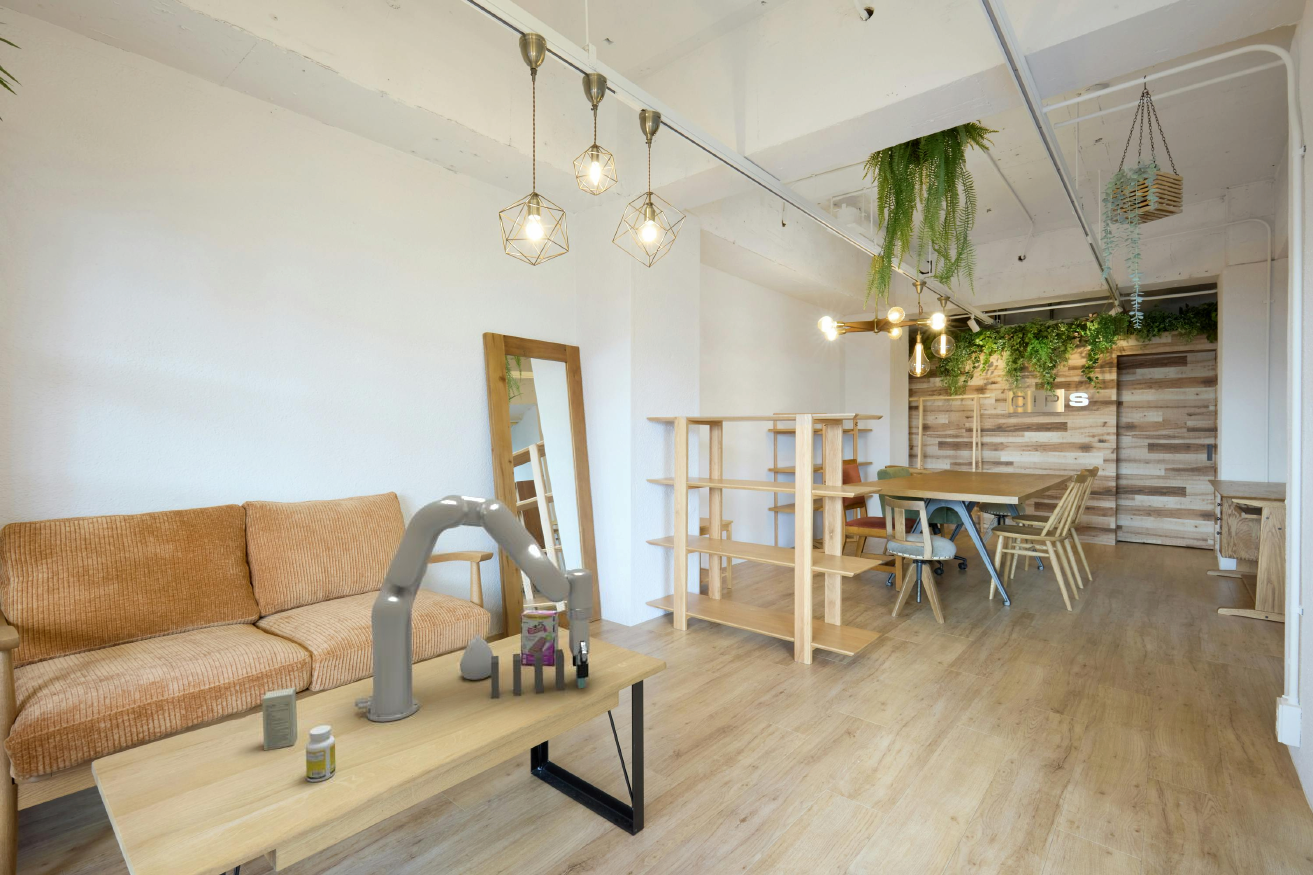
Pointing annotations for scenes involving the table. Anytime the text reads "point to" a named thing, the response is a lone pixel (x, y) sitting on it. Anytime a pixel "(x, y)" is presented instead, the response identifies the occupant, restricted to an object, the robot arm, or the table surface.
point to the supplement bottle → (320, 754)
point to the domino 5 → (582, 681)
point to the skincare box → (279, 718)
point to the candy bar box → (539, 636)
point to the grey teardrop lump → (476, 660)
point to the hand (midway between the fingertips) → (580, 671)
